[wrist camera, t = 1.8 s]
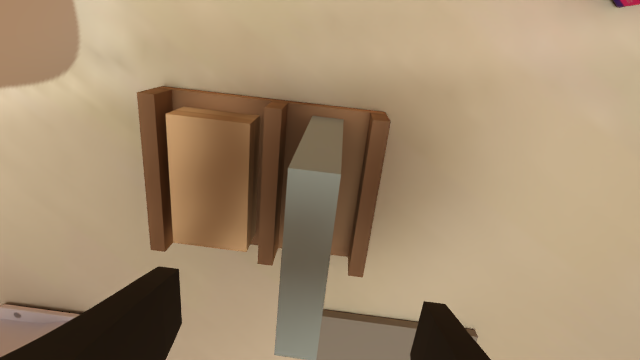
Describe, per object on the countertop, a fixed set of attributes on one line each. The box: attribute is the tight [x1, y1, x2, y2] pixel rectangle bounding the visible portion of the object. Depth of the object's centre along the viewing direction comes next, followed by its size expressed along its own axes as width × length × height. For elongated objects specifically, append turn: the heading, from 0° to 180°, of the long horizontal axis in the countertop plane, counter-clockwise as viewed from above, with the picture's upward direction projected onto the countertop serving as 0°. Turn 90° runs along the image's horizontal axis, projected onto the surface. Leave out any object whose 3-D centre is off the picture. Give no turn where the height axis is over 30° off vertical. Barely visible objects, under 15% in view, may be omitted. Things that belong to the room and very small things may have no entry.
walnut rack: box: [137, 86, 390, 277], centre depth 19 cm, size 12×9×2 cm
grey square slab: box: [274, 116, 344, 360], centre depth 16 cm, size 2×8×8 cm, turn 174°
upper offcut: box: [166, 110, 255, 252], centre depth 18 cm, size 4×7×1 cm, turn 174°
